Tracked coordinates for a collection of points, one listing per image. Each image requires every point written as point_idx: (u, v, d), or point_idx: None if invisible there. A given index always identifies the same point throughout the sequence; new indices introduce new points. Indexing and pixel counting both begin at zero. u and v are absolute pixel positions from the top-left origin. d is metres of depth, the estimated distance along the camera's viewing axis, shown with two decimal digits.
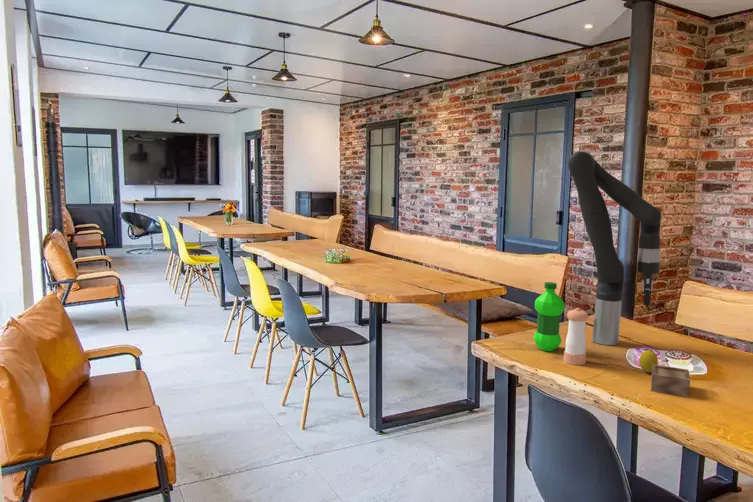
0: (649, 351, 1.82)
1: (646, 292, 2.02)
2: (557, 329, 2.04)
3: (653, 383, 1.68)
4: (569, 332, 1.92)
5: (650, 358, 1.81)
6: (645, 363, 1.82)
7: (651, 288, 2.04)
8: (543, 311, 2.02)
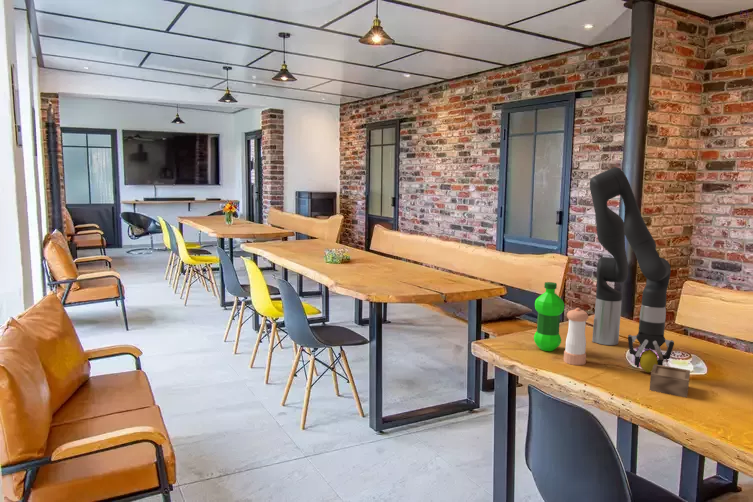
0: (649, 351, 1.82)
1: None
2: (557, 329, 2.04)
3: (651, 383, 1.69)
4: (569, 332, 1.92)
5: (650, 358, 1.81)
6: (645, 363, 1.82)
7: None
8: (543, 311, 2.02)
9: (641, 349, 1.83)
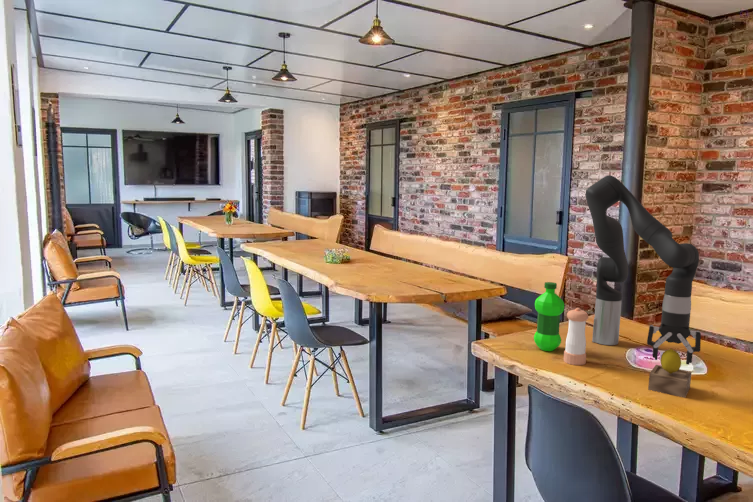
0: (671, 351, 1.68)
1: None
2: (557, 329, 2.04)
3: (650, 382, 1.69)
4: (569, 332, 1.92)
5: (672, 358, 1.67)
6: (667, 364, 1.68)
7: (688, 342, 1.68)
8: (543, 311, 2.02)
9: (661, 341, 1.69)
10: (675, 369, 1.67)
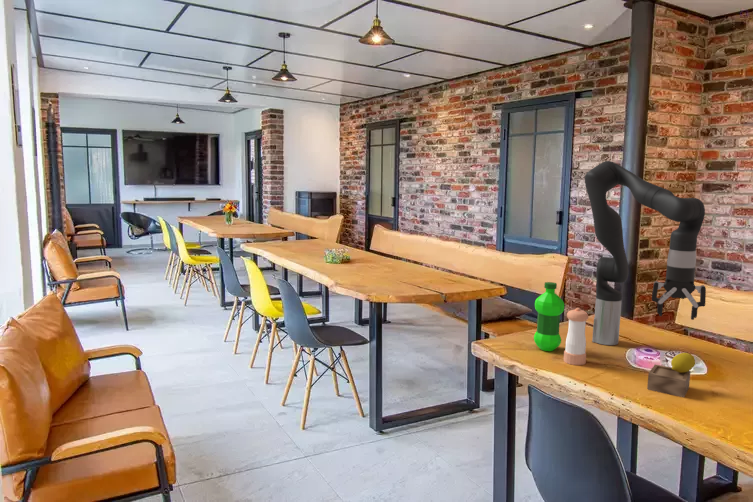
0: (693, 356, 1.70)
1: None
2: (557, 329, 2.04)
3: (649, 382, 1.69)
4: (569, 332, 1.92)
5: (692, 359, 1.69)
6: (685, 359, 1.68)
7: None
8: (543, 311, 2.02)
9: (666, 297, 1.68)
10: (684, 367, 1.68)
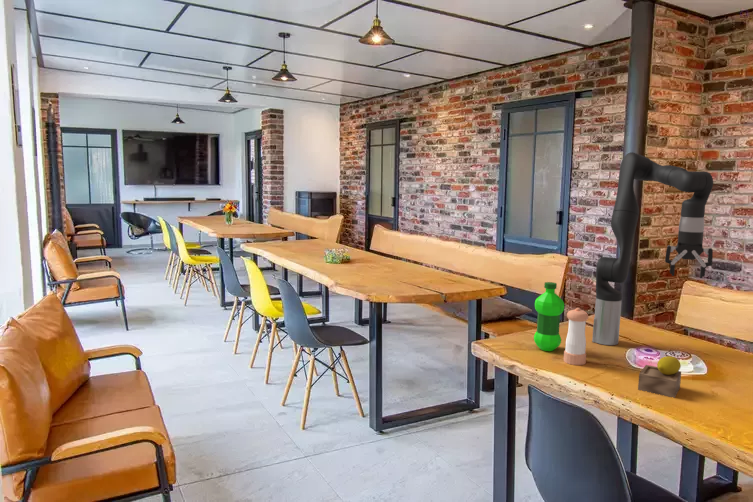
0: None
1: (711, 263, 1.89)
2: (557, 329, 2.04)
3: (639, 383, 1.69)
4: (569, 332, 1.92)
5: (679, 363, 1.68)
6: (674, 361, 1.68)
7: None
8: (543, 311, 2.02)
9: (678, 258, 1.92)
10: (671, 369, 1.67)
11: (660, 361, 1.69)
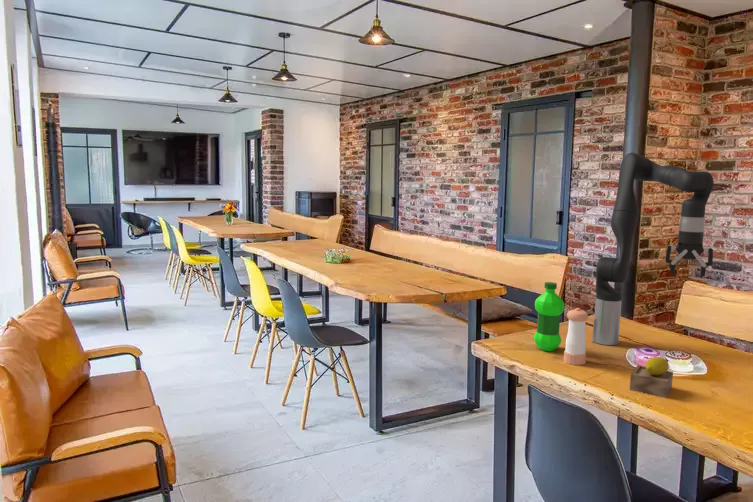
0: None
1: None
2: (557, 329, 2.04)
3: (631, 383, 1.69)
4: (569, 332, 1.92)
5: (667, 365, 1.68)
6: (662, 362, 1.67)
7: (701, 258, 1.92)
8: (543, 311, 2.02)
9: (678, 258, 1.92)
10: (660, 370, 1.66)
11: (649, 361, 1.68)
